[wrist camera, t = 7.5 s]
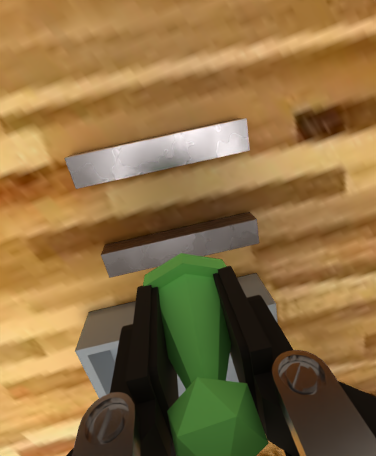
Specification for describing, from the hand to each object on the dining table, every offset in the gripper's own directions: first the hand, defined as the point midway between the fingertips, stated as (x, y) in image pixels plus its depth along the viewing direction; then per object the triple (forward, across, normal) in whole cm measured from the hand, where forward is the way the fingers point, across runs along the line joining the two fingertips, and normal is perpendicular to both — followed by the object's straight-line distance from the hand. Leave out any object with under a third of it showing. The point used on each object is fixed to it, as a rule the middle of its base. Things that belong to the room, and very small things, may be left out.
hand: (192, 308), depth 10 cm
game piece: (+1, 0, 0) cm, 1 cm away
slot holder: (+15, 0, 0) cm, 15 cm away
